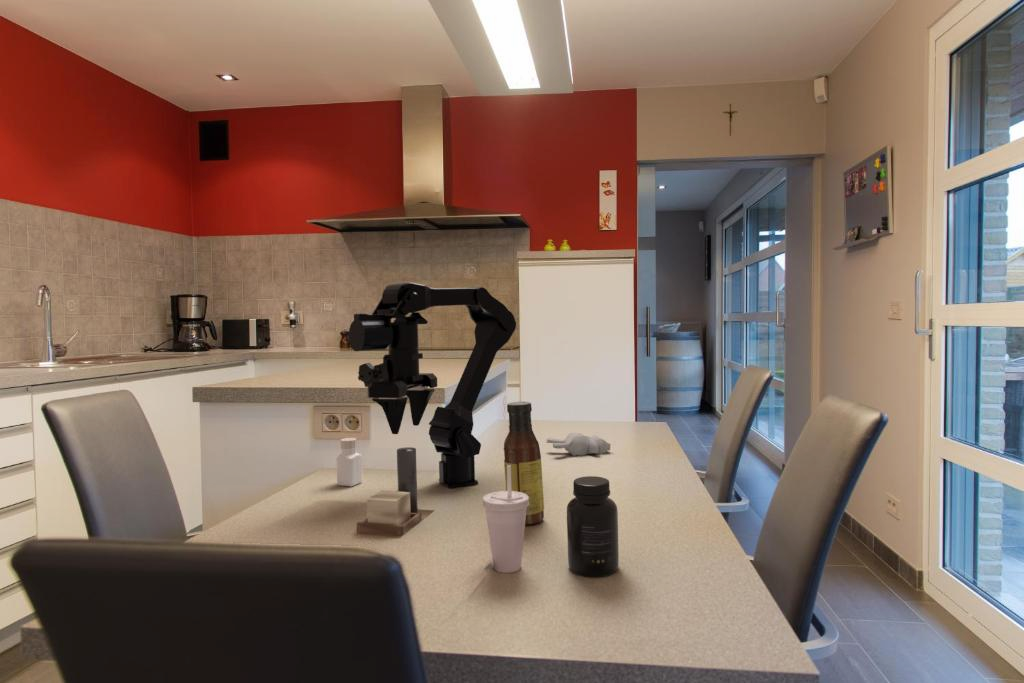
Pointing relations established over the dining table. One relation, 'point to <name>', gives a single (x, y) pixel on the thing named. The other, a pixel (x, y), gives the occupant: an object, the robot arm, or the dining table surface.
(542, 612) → the dining table surface
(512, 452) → the sauce bottle
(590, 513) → the supplement bottle
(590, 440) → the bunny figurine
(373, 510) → the birch block
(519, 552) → the smoothie
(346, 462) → the white plastic bottle
